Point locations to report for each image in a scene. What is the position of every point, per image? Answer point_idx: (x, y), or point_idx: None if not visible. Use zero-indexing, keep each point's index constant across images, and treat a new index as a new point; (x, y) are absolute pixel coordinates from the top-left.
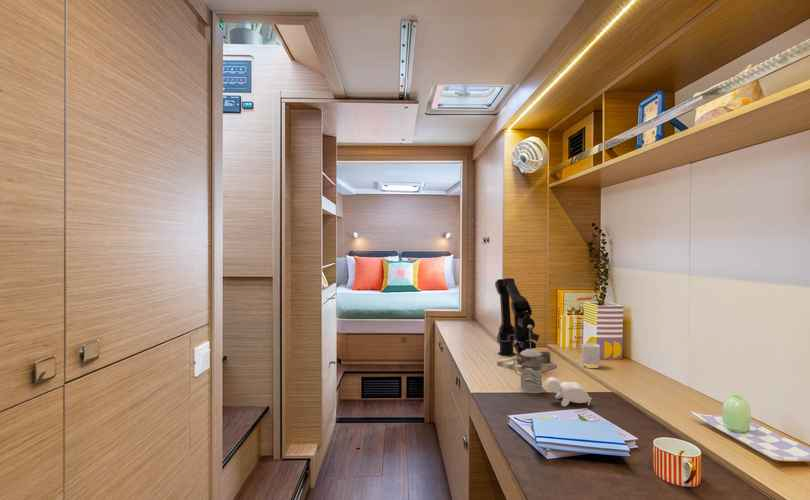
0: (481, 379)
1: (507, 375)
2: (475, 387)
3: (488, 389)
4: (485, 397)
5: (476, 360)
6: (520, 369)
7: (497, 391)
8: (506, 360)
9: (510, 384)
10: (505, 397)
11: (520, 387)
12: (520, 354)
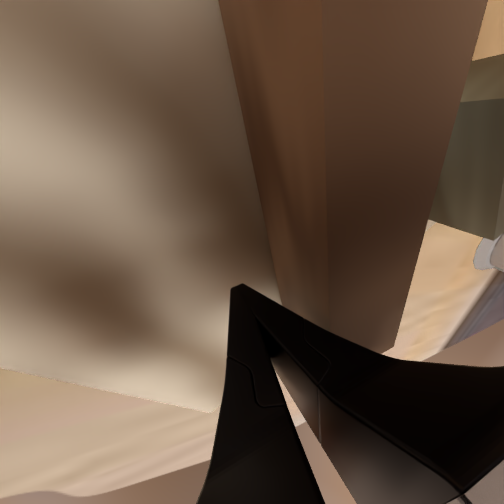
0: None
1: None
2: (418, 360)
3: (442, 335)
4: (469, 329)
5: (116, 477)
6: None
7: (462, 315)
8: (198, 376)
9: (446, 293)
10: (495, 295)
11: (492, 267)
12: (372, 346)
